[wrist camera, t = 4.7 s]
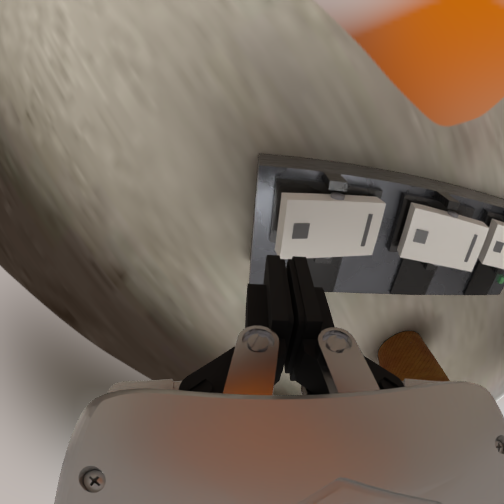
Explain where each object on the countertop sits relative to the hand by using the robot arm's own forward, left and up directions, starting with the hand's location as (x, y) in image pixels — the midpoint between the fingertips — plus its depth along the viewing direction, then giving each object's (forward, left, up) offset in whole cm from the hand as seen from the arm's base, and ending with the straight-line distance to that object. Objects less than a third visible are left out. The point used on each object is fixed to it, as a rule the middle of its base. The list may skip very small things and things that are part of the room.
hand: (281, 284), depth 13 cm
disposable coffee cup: (-19, +19, -13) cm, 30 cm away
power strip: (-16, +2, -13) cm, 21 cm away
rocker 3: (-23, 0, -7) cm, 24 cm away
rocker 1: (-4, 0, -7) cm, 8 cm away
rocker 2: (-13, 0, -7) cm, 15 cm away
